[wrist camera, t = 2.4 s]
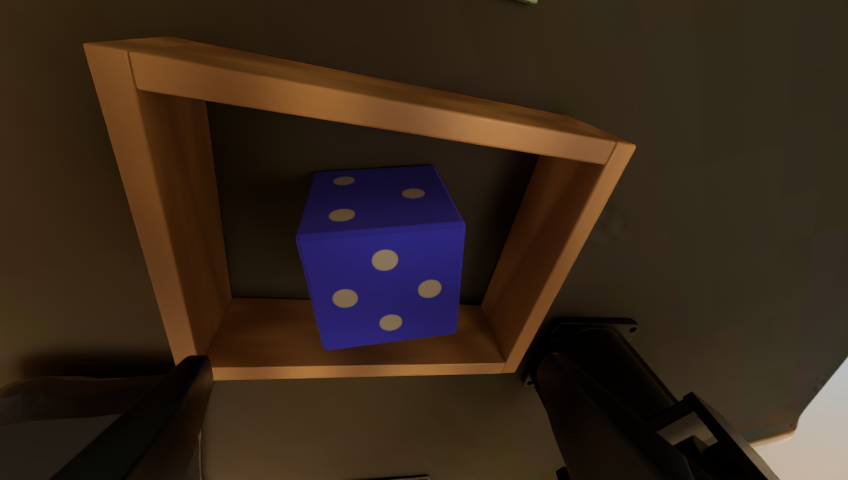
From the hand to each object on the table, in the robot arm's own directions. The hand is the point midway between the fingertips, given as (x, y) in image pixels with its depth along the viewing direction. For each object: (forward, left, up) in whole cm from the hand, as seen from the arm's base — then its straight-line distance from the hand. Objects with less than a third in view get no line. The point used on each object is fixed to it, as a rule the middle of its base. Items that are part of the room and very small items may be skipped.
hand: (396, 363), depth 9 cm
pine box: (0, 0, -8) cm, 8 cm away
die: (0, 0, -8) cm, 8 cm away
